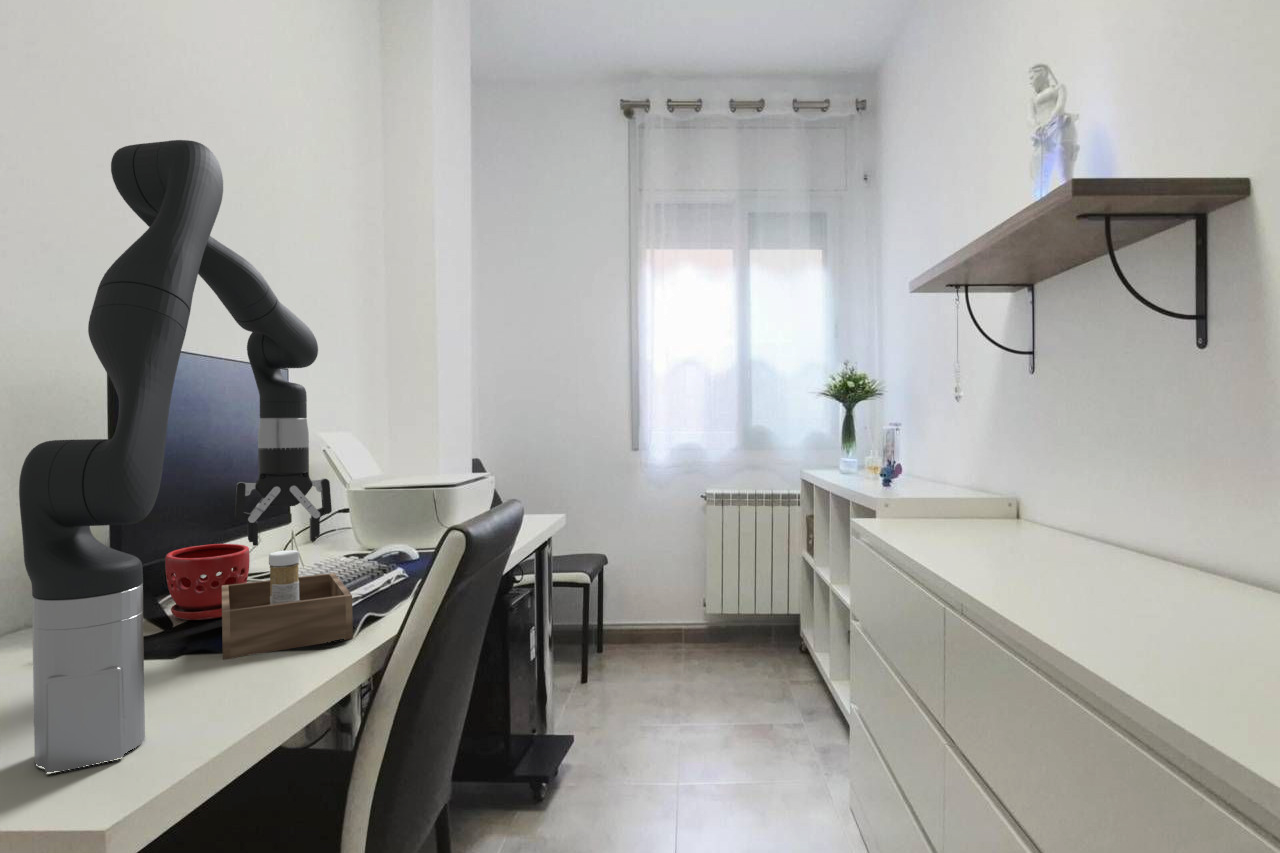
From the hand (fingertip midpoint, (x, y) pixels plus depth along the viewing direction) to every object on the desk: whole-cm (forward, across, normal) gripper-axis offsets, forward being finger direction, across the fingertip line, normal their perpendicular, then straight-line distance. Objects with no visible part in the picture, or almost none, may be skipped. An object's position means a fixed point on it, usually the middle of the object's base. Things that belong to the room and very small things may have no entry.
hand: (284, 542), depth 115 cm
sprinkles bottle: (+15, 0, 0) cm, 15 cm away
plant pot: (+15, -11, +20) cm, 28 cm away
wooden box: (+15, 0, 0) cm, 15 cm away
